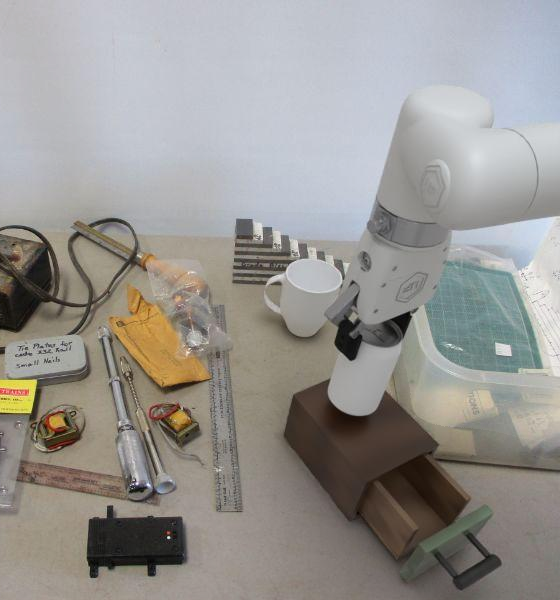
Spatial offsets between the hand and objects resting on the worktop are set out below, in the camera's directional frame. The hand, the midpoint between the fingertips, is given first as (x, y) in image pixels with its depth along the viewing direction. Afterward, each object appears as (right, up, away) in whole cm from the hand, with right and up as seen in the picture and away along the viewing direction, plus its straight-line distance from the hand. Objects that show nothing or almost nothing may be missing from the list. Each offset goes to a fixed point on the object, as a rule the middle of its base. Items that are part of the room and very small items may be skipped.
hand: (368, 341), depth 70 cm
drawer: (+7, -24, +4) cm, 25 cm away
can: (0, -8, +6) cm, 10 cm away
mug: (-2, 0, +32) cm, 32 cm away
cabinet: (+1, -17, +12) cm, 21 cm away
